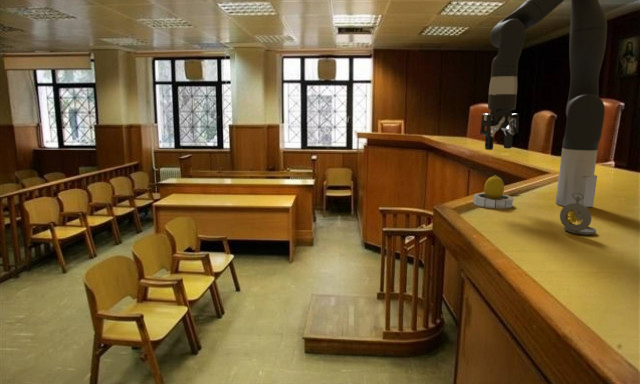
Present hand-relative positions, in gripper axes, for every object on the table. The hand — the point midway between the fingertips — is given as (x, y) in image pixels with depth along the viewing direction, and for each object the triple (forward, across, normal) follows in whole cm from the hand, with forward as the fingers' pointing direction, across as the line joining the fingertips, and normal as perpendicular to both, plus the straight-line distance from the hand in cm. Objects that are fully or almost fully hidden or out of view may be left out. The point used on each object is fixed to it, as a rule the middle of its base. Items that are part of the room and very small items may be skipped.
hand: (498, 149), depth 130 cm
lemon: (+16, 0, 0) cm, 16 cm away
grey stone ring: (+17, 0, 0) cm, 17 cm away
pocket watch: (+18, +8, +30) cm, 35 cm away
